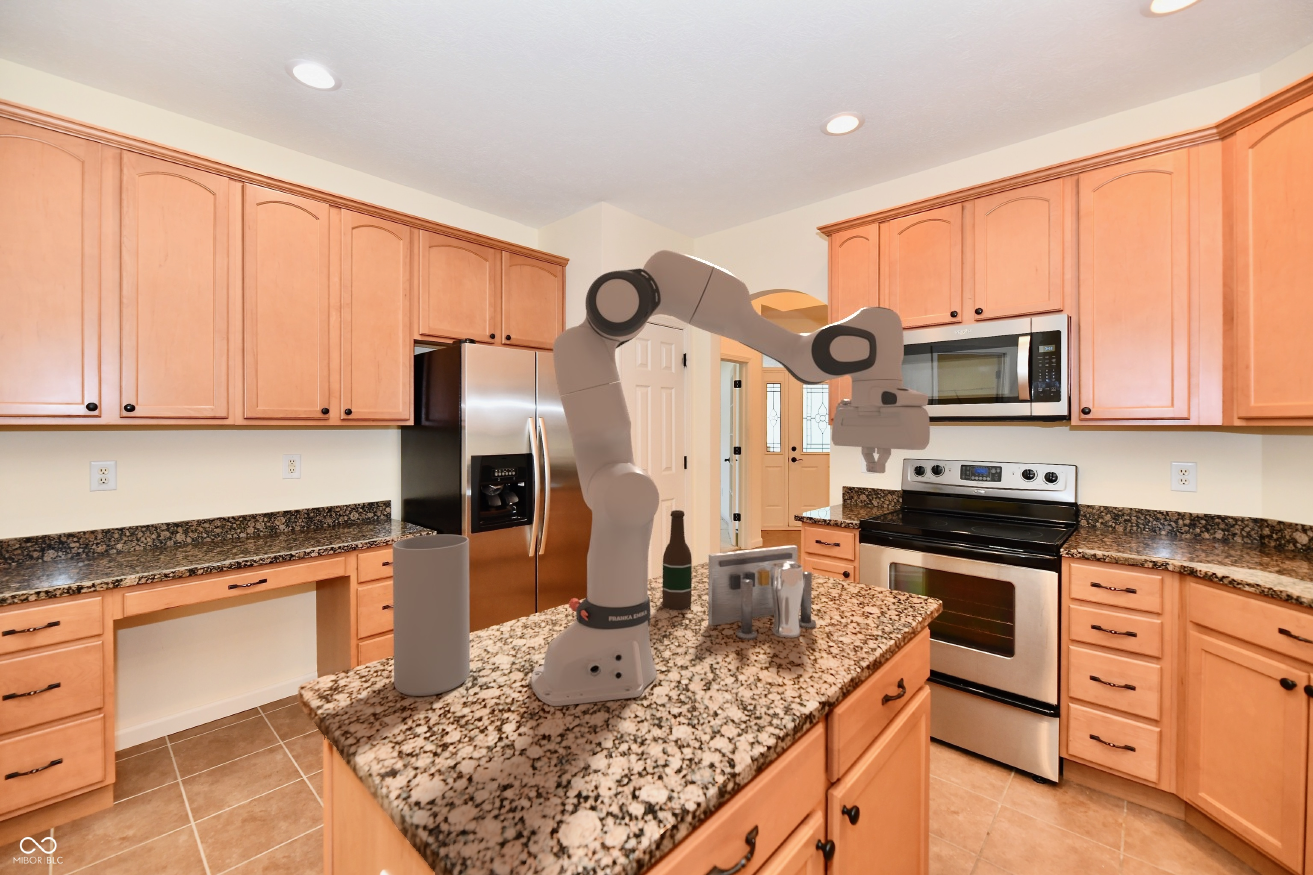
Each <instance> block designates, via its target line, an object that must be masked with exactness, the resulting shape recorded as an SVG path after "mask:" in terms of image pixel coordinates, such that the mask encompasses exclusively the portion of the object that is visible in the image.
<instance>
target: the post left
mask: <svg viewBox="0 0 1313 875" xmlns="http://www.w3.org/2000/svg"><path fill="white" fill-rule="evenodd" d="M752 611H753V581H752V580H748V579H744V580H742V583H741V621H740V628H739V629H737V630H736V637H737V638H739V639H741V640H744V639H747V641H748V640H749V639H750V640H751V639H752V640H755V639H757V638H758V632H757V630H755V629H753V619H752ZM750 640H749V641H750Z"/></svg>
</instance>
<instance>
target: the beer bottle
mask: <svg viewBox="0 0 1313 875" xmlns="http://www.w3.org/2000/svg"><path fill="white" fill-rule="evenodd" d="M669 516H670V517H671V521H670V534H669V535H670V536H669V542H668V544H667V545H666V546H665V549H664V552H663V556H662V606H663V607H664V608H666V609H668V610H673V611H674V610H675V611H678V610H679V611H683V610H685V609H690V608H691V607H692V595H693V594H692V591H693V589H692V586H693V585H692V584H693V583H692V579H693V577H692V574H693V573H692V566H693V565H692V564H693V561H692V559H693V558H692V553H691V549H690V547H689V545H688V544H687V542H686V538H685V521H684V520H685V519H684V517H685V512H684V510H680V509H678V510H677V509H674V510H671V512H670V515H669Z"/></svg>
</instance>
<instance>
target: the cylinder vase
mask: <svg viewBox="0 0 1313 875" xmlns="http://www.w3.org/2000/svg"><path fill="white" fill-rule="evenodd" d="M392 591H393V592H392V596H393V597H392V598H393V599H392V603H393V604H392V606H393V608H392V609H393V610H392V611H393V618H392V619H393V625H392V626H393V685H394V687H395V689H396V690H397V691H398V692H400V693H401V694H403V695H407V696H413V697H427V696H434V695H438V694H443V693H446V692H448V691H452V690H453V689H455V688H457V687H459V686H461V685H462V684H463V683H464V682H465V681H466V680H467V679H468V677H469V676H470V673H471V671H470V670H471V669H470V668H471V667H470V666H471V664H470V663H471V661H470V659H471V657H470V656H471V654H470V650H471V649H470V647H471V645H470V642H471V641H470V639H471V638H470V637H471V636H470V633H471V632H470V630H471V629H470V627H471V626H470V539H469V537H467V536H465V535H459V534H427V535H426V534H425V535H419V536H418V535H417V536H412V537H407V538H403V539H400V540H397V541H394V542H393V543H392Z"/></svg>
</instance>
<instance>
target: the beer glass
mask: <svg viewBox="0 0 1313 875" xmlns="http://www.w3.org/2000/svg"><path fill="white" fill-rule="evenodd" d="M803 570H804V569H803V565H802V564H800V563H798V562H797V563H794V562H775V563H773V564H772V571H771V595H772V601H773V607H774V615H773V617H774V618H773V624H772V630H771V632H772V633H773V634H774V635H775V636H777V637H779V636H780V638H784V637H785V638H786V639H792V638H793V639H795V638H798V637H800V636H801V627H800V625H799V618H800V612H801V601H802V595H803V572H804V571H803Z"/></svg>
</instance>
